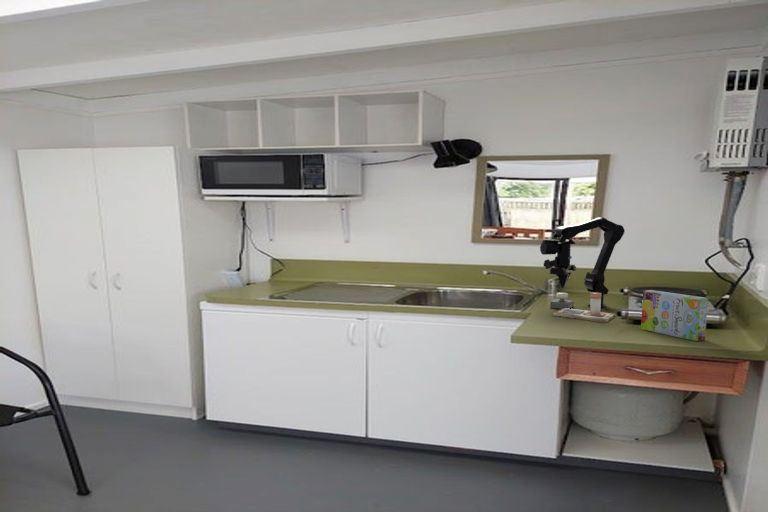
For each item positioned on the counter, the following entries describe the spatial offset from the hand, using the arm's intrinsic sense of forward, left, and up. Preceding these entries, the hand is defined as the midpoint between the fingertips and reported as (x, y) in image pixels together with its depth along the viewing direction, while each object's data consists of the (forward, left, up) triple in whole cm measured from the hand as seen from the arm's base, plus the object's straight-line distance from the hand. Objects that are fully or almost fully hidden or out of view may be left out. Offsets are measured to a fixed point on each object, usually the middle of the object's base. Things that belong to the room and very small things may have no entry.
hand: (562, 287), depth 232 cm
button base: (0, 0, -9) cm, 9 cm away
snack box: (+25, +48, -9) cm, 55 cm away
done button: (0, 0, -8) cm, 8 cm away
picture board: (+13, +13, -9) cm, 21 cm away
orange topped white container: (+13, +18, -8) cm, 23 cm away
